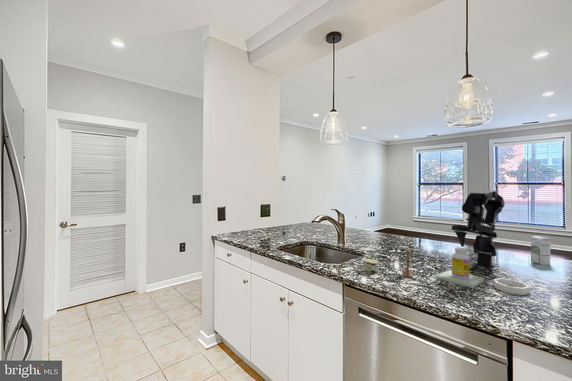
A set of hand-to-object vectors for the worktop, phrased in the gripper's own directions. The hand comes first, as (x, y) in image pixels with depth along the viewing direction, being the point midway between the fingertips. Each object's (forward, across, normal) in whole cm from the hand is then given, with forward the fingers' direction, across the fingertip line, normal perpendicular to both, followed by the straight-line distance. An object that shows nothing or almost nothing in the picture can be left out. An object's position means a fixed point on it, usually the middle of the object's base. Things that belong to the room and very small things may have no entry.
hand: (471, 248), depth 127 cm
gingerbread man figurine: (+19, -30, -2) cm, 35 cm away
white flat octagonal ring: (+14, +5, -18) cm, 23 cm away
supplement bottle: (+14, -9, -8) cm, 18 cm away
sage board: (+15, -9, -8) cm, 19 cm away
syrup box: (0, +50, +17) cm, 53 cm away
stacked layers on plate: (+21, -45, +3) cm, 50 cm away
